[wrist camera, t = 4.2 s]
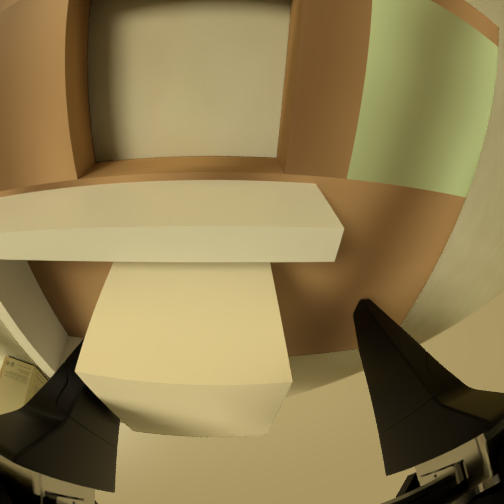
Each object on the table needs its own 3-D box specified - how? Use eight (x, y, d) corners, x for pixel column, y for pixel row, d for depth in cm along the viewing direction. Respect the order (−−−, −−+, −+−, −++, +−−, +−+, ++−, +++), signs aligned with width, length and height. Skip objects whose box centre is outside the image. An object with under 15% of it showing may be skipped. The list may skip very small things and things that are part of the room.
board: (474, 24, 5) (498, 27, 4) (379, 325, 16) (387, 343, 15) (-11, 15, 3) (-33, 17, 2) (65, 326, 14) (58, 345, 13)
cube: (265, 243, 9) (292, 381, 5) (254, 331, 12) (266, 435, 9) (122, 243, 9) (74, 371, 5) (147, 330, 12) (133, 431, 8)
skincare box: (5, 353, 17) (-23, 458, 7) (37, 365, 18) (12, 480, 8) (30, 382, 20) (11, 473, 11) (60, 392, 21) (44, 489, 12)
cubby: (315, 183, 8) (344, 228, 6) (277, 354, 14) (283, 396, 12) (-11, 199, 7) (-47, 235, 5) (62, 344, 13) (51, 379, 11)
